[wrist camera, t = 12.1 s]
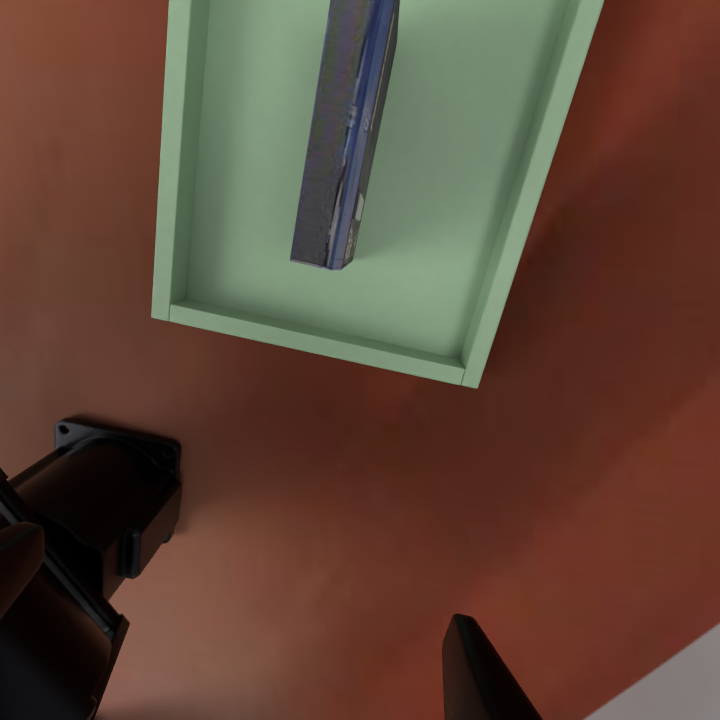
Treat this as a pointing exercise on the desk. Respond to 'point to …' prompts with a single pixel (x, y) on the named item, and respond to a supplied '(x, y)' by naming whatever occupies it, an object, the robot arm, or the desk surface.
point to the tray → (386, 184)
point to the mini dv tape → (344, 129)
